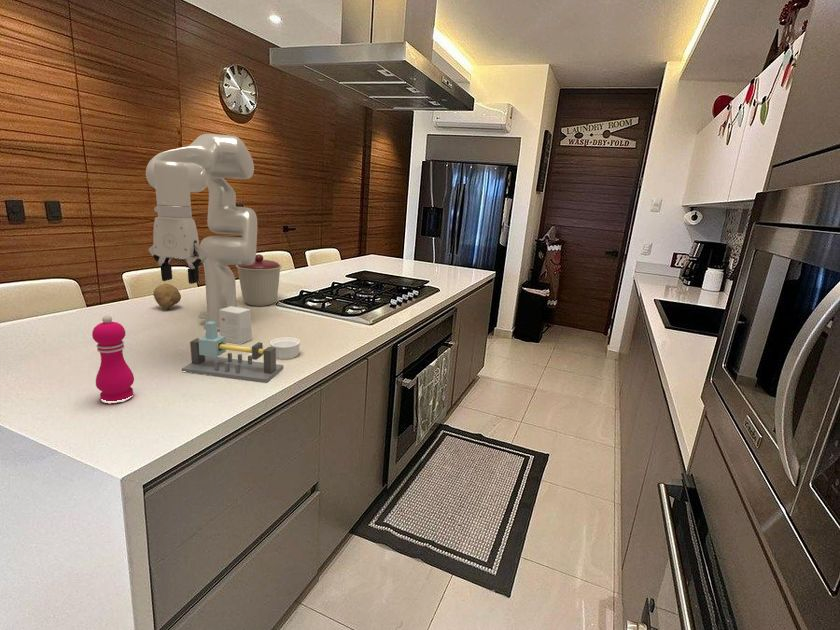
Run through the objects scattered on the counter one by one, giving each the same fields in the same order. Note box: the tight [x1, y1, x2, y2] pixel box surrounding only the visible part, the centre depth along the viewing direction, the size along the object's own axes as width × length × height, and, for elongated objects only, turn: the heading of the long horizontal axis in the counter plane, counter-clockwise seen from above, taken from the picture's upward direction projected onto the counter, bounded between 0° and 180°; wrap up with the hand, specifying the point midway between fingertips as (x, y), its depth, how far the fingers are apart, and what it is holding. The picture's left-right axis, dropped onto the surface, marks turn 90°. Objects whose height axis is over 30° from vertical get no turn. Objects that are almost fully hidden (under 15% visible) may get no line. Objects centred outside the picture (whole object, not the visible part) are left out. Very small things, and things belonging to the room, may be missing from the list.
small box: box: [219, 306, 253, 345], centre depth 141 cm, size 8×6×10 cm
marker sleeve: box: [198, 321, 227, 357], centre depth 118 cm, size 5×4×9 cm
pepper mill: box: [91, 315, 135, 401], centre depth 98 cm, size 7×7×20 cm
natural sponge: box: [153, 283, 182, 310], centre depth 169 cm, size 9×9×10 cm
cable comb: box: [181, 337, 284, 384], centre depth 119 cm, size 24×10×8 cm, turn 82°
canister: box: [235, 253, 282, 307], centre depth 184 cm, size 18×18×21 cm
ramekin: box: [269, 336, 301, 360], centre depth 133 cm, size 9×9×4 cm
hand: (180, 280), depth 115 cm, fingers open, 6 cm apart
